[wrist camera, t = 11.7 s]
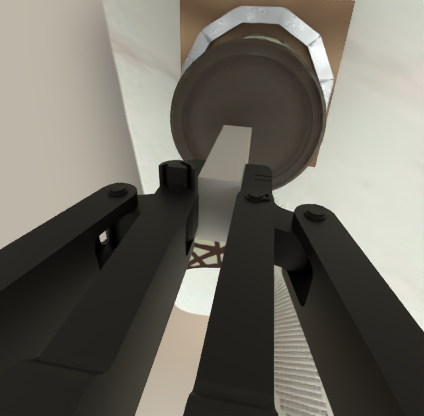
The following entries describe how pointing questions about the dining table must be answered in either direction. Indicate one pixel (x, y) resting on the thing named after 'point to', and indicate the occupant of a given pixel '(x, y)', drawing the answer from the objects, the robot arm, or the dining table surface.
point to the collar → (268, 17)
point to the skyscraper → (294, 361)
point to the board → (273, 26)
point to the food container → (206, 254)
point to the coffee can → (252, 104)
